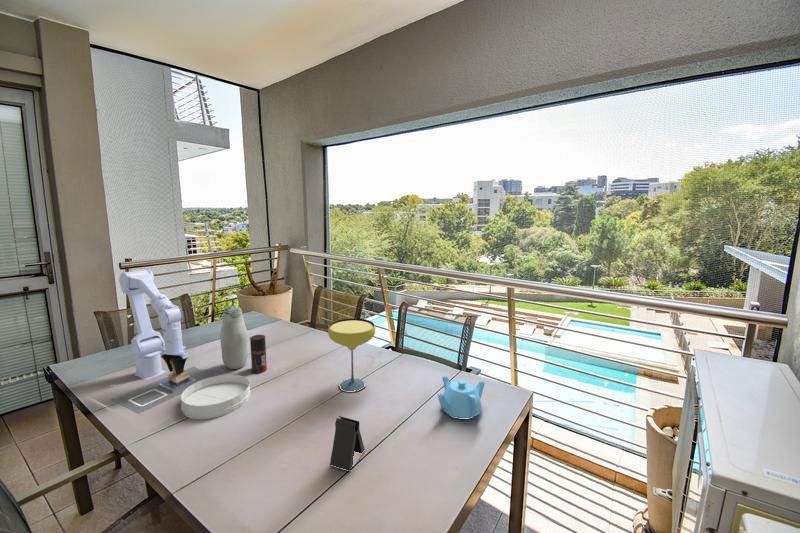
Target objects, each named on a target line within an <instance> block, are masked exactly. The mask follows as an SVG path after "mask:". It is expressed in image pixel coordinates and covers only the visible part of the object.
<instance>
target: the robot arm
mask: <svg viewBox="0 0 800 533" xmlns="http://www.w3.org/2000/svg"><path fill="white" fill-rule="evenodd" d="M118 278H119V279H118V280H119V285H120V289H121V291H122V293H123V294H125V295H127V298H128V302H129V304H130V305H129V306H130V309H131V312H132V315H133V319H134V322H135V323H134V325H135V328H136V331H137V334H136V335H135V336H134V337H133V338H132V339H131V341H130V342H131V343H130V344H131V352H132V354H133V355H134V357H135V360H134V362H135V363H134V364H135V370H136V371H135V372H136V373H134V375H133V376H136V377H138V378H141V379H144V380H145V381H146V380H150V379H153V378H154V377H158V376H161V375H162V374H165V373H168V371H169V372H170V373H173V369H172V364H171V363H170V360H171V361H172V362H173V364H174V367H175V371H176V374H180V373H183V370H185V363H186V361H187V359H188V358H190V357H189V356H190V353H189V352H188V351H187V350H186V349H187V348H186V347H187V346H185V345H183V336H182V326H181V325H182V324H181V322H182V321H183V319H184V312H183V309H182V308H181V307H180V306H178V305H176V304H173V302H172V301H171V300H170V298H168V296H167V295H166V294H164V293H163V294H162V293H160V292H161V291H159V289H158V287H157V286H156V284H155V283H154V282H155V278H154V273H153V272H152V270H151V269H149V268H145V269H139V270H132V271H122V272H121V273H120V275H119V277H118ZM144 294H146V296H147V297H148V298H149V299H150V300H149V301H150V302H149V304H150V306H151V307H152V309H154V311H155V312H156V313H157V314H158V316H157V319H158V321H159V324H160V328H161V329H162V334H163V337H162V334H161V332H159V331H156V330H154V329H153V327H152V322H151V319H150V315H149V310H148V308H147V304H146V300H145V296H144ZM161 353H164V354H161ZM162 359H163V360H164V362H165V363H166V366H167V368H168V371H166V370H164V369H162V366H163V365H162Z"/></svg>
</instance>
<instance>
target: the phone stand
mask: <svg viewBox="0 0 800 533" xmlns="http://www.w3.org/2000/svg"><path fill="white" fill-rule="evenodd" d="M334 425H335V427H334V428H335V431H334V436H333V444H332V449H331V457H330V461H329V462H330V463H329V466H330V465H333V466H336V467H339V468H343V469H346V470H350V469H351V467H352V465H353V456H354V451H355V452H359V453H362V452H363V451H364V450H365V451H366V449H365V446H364V441H363V438H362V434H361V431H360V421H359V420H355V419H352V418H348V417H345V416H341V415H339V416H338V417H337V418H336V420H335V423H334ZM365 451H364V452H365ZM351 470H352V469H351Z"/></svg>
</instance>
